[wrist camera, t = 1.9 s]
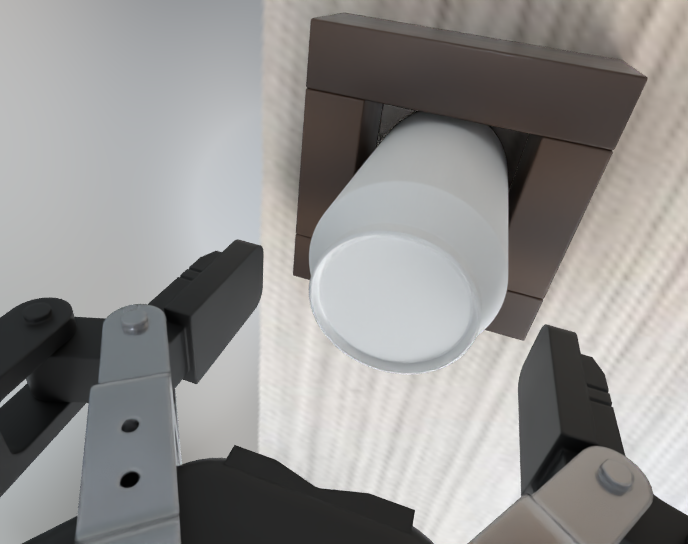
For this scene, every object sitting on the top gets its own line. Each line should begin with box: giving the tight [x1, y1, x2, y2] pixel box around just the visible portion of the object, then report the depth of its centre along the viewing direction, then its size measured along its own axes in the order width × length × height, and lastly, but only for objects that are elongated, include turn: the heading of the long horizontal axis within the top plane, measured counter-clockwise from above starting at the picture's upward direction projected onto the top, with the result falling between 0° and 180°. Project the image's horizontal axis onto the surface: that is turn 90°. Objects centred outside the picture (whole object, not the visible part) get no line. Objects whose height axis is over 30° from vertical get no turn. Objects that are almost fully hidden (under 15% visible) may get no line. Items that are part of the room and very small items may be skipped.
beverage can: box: [309, 111, 508, 374], centre depth 17 cm, size 6×6×12 cm
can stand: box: [293, 13, 647, 340], centre depth 21 cm, size 12×12×4 cm
